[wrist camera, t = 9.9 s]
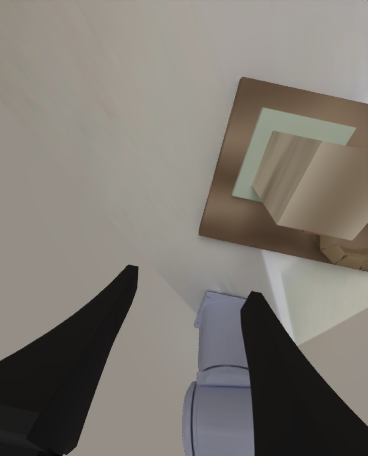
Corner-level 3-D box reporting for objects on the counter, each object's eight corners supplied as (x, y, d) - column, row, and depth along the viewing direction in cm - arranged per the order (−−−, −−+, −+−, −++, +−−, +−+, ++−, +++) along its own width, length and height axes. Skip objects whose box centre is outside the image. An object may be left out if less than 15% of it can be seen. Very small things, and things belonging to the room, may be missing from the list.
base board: (371, 266, 21) (391, 284, 19) (198, 229, 21) (197, 243, 19) (506, 137, 14) (566, 142, 11) (239, 79, 14) (246, 72, 11)
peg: (328, 142, 14) (420, 161, 8) (298, 196, 16) (351, 241, 10) (272, 130, 14) (322, 140, 8) (251, 186, 16) (276, 226, 10)
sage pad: (302, 209, 17) (304, 211, 17) (231, 193, 17) (232, 195, 17) (351, 127, 14) (356, 127, 13) (261, 107, 14) (263, 107, 13)
